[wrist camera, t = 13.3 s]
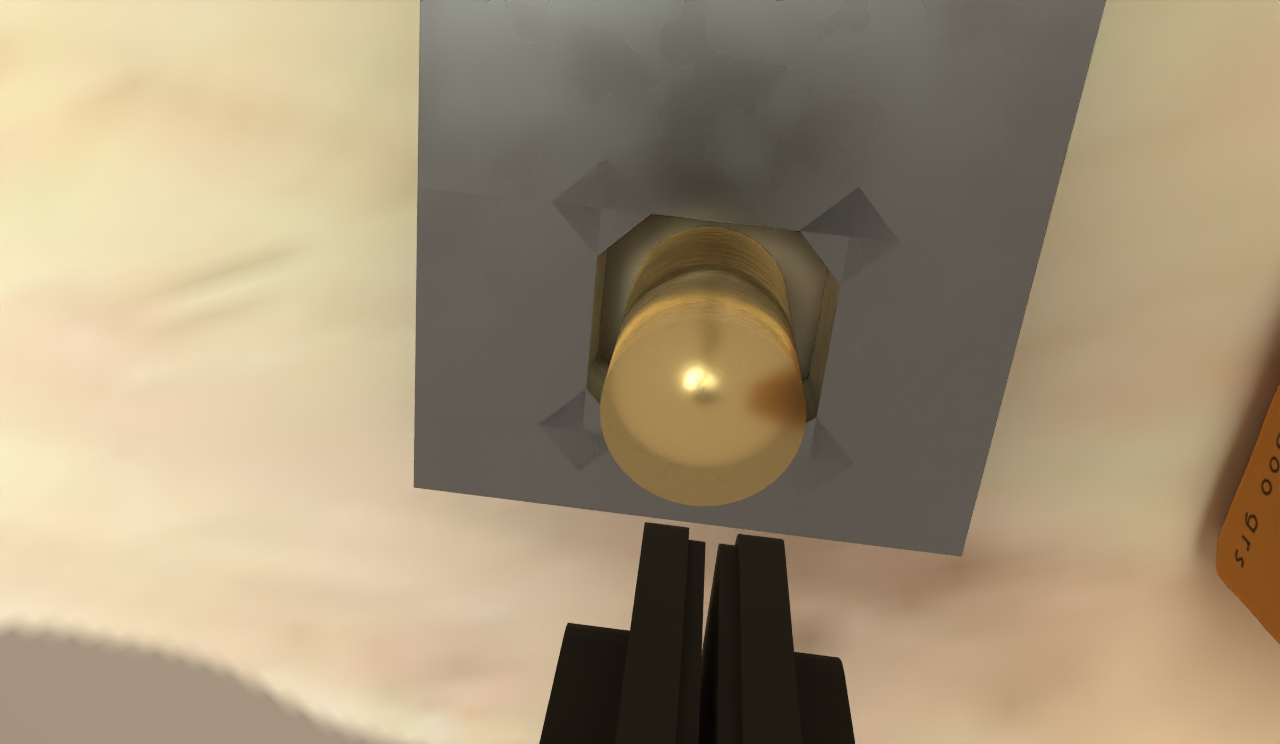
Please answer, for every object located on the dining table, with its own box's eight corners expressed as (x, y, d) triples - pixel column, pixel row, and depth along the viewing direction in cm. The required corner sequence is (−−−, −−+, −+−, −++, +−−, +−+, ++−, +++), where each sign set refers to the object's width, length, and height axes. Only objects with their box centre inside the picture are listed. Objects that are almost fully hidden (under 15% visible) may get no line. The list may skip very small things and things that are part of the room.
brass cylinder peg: (639, 217, 25) (609, 306, 19) (798, 236, 25) (822, 333, 19) (623, 363, 27) (591, 492, 20) (773, 382, 27) (788, 518, 20)
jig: (460, -433, 21) (425, -483, 18) (1156, -368, 20) (1212, -410, 18) (439, 443, 28) (413, 487, 26) (941, 506, 28) (961, 556, 25)
